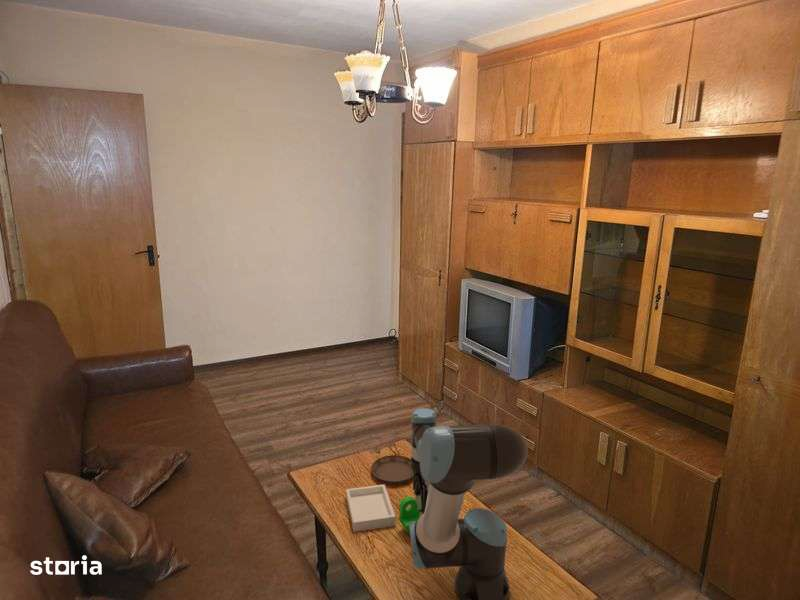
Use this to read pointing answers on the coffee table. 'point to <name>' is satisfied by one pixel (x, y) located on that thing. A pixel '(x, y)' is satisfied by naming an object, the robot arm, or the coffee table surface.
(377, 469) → the plant saucer
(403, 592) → the coffee table surface
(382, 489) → the tray
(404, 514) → the mechanical part
